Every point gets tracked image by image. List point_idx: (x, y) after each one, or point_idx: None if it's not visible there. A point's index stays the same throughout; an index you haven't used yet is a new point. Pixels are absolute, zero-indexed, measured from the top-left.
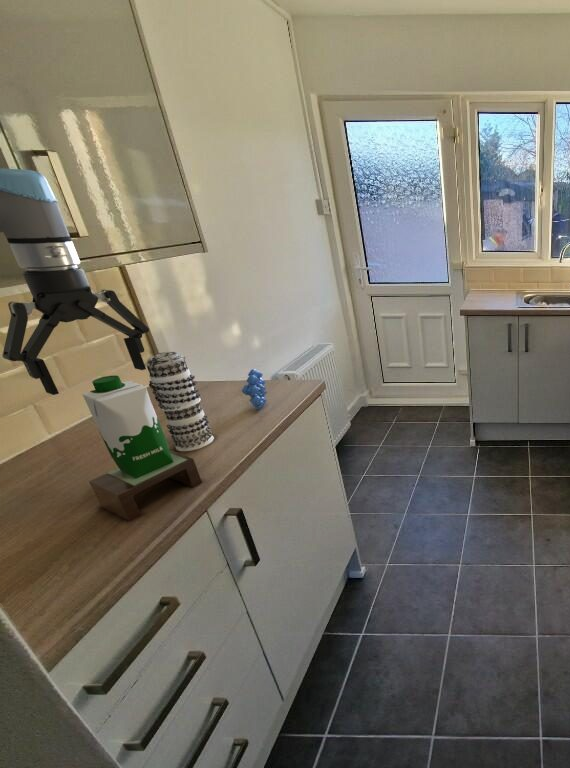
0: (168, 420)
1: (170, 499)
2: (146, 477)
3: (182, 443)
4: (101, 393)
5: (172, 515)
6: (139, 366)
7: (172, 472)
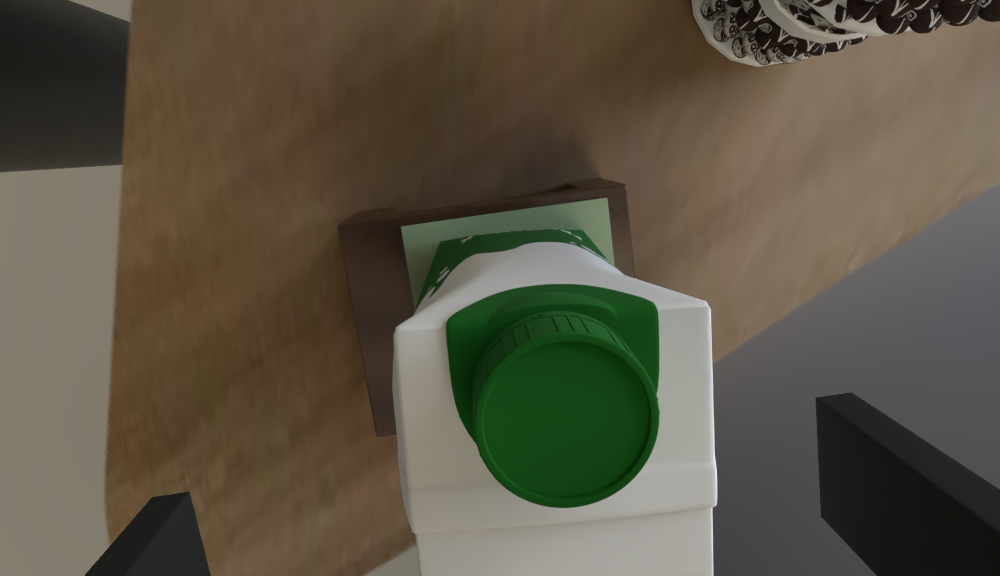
0: None
1: None
2: None
3: (719, 22)
4: (482, 464)
5: None
6: (839, 513)
7: None
